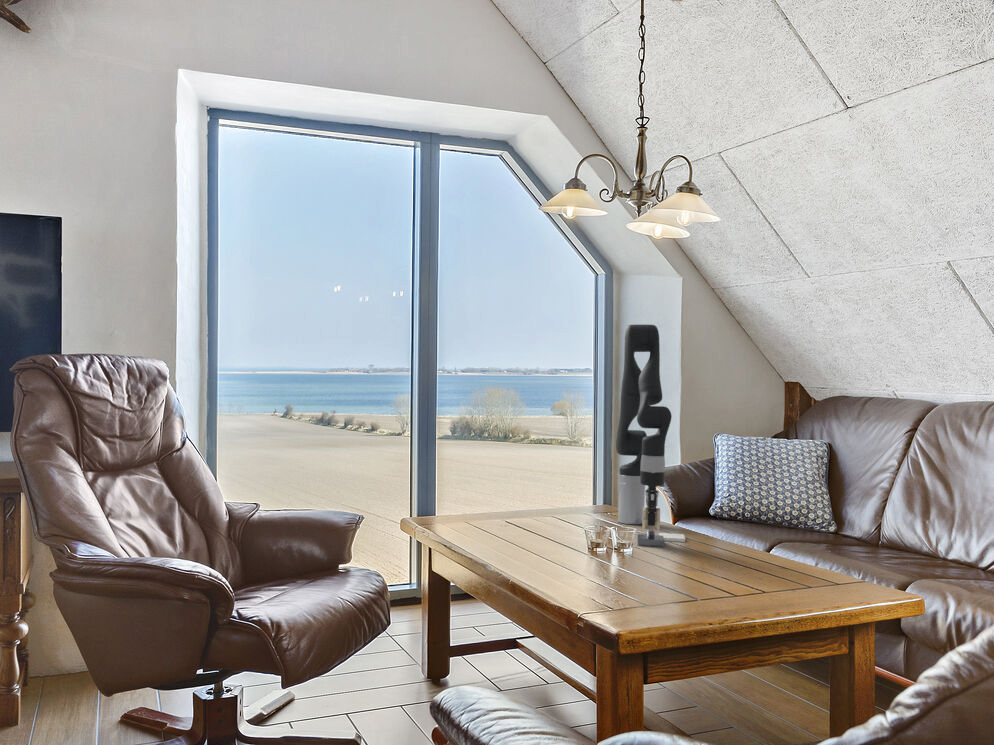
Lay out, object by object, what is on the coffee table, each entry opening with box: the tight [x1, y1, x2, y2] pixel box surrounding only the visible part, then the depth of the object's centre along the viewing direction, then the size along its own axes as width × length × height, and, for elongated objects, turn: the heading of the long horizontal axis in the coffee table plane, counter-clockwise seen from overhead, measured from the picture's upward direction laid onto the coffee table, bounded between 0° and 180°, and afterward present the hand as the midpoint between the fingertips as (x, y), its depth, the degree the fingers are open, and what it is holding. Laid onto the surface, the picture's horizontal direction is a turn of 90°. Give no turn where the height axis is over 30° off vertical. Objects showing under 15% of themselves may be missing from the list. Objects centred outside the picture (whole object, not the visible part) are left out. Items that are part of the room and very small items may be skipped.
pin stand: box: [637, 530, 665, 548], centre depth 258 cm, size 8×8×8 cm
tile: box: [658, 532, 686, 543], centre depth 267 cm, size 8×8×1 cm
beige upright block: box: [641, 506, 661, 531], centre depth 258 cm, size 5×5×6 cm
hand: (651, 523), depth 258 cm, fingers closed on beige upright block, 5 cm apart
